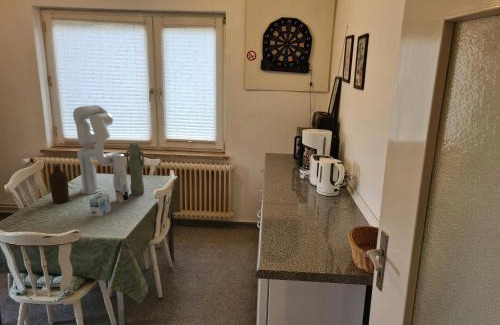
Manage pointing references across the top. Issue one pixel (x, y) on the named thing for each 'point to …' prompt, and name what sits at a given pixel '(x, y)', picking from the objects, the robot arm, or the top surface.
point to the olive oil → (59, 186)
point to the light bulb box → (100, 205)
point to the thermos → (135, 169)
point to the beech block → (120, 197)
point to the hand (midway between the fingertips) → (122, 198)
